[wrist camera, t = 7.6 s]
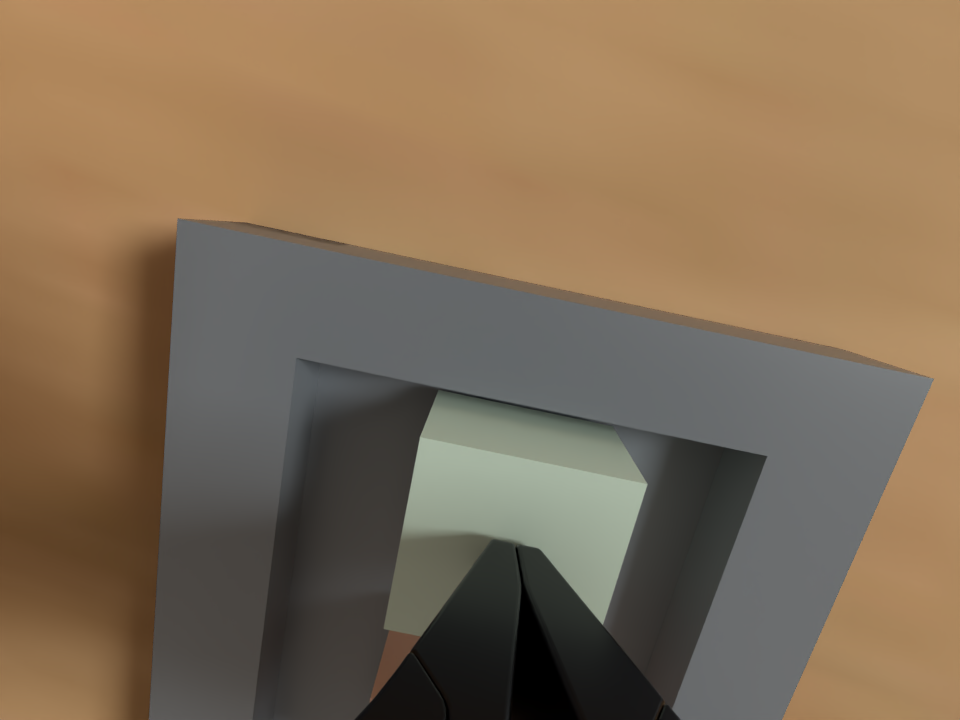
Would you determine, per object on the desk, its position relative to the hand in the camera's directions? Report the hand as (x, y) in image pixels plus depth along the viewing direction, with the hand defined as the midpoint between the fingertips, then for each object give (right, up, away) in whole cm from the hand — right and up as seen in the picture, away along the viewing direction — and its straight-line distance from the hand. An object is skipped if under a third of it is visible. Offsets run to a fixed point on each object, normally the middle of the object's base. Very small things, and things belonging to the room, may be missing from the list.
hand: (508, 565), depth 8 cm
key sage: (0, +1, +3) cm, 3 cm away
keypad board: (-1, -7, +6) cm, 9 cm away
